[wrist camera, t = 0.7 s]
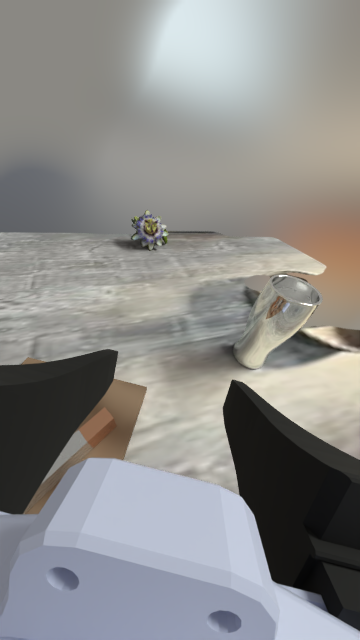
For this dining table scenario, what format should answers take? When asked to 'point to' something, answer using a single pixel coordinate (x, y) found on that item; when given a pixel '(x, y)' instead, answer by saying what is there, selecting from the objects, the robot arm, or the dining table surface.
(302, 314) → the beer glass
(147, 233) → the passion flower
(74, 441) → the hinged tong arm
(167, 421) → the dining table surface
